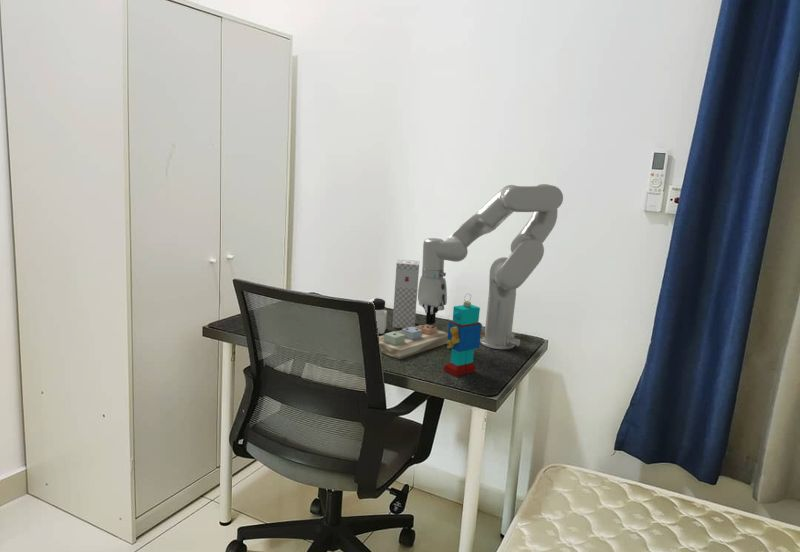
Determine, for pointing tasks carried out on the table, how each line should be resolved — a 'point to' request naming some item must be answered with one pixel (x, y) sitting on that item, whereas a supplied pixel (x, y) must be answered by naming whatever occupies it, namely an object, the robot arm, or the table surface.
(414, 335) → the button two
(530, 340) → the table surface
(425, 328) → the button three
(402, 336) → the button one
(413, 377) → the table surface
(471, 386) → the table surface
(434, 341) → the wooden puzzle board
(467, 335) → the toy robot
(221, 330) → the table surface
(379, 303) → the medicine bottle
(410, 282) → the box
